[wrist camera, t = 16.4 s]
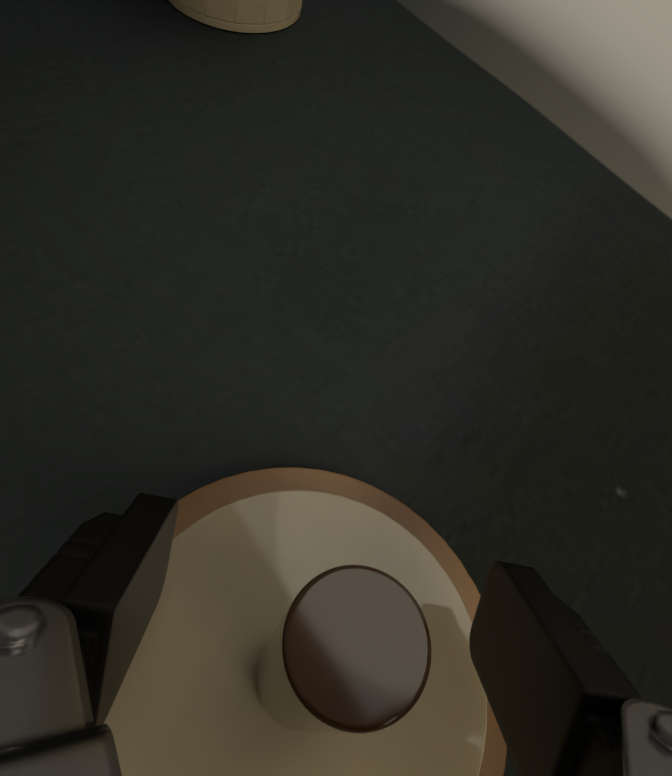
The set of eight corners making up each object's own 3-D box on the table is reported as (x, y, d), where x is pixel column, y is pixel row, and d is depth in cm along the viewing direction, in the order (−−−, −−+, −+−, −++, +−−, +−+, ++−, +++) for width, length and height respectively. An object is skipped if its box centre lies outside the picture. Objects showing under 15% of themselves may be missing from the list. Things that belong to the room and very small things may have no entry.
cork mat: (543, 591, 15) (554, 586, 14) (402, 1116, 9) (412, 1138, 9) (230, 414, 16) (231, 403, 15) (-61, 797, 10) (-75, 801, 10)
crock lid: (509, 604, 14) (682, 533, 9) (382, 1027, 10) (578, 1370, 4) (241, 450, 15) (258, 304, 10) (11, 775, 10) (-181, 821, 5)
